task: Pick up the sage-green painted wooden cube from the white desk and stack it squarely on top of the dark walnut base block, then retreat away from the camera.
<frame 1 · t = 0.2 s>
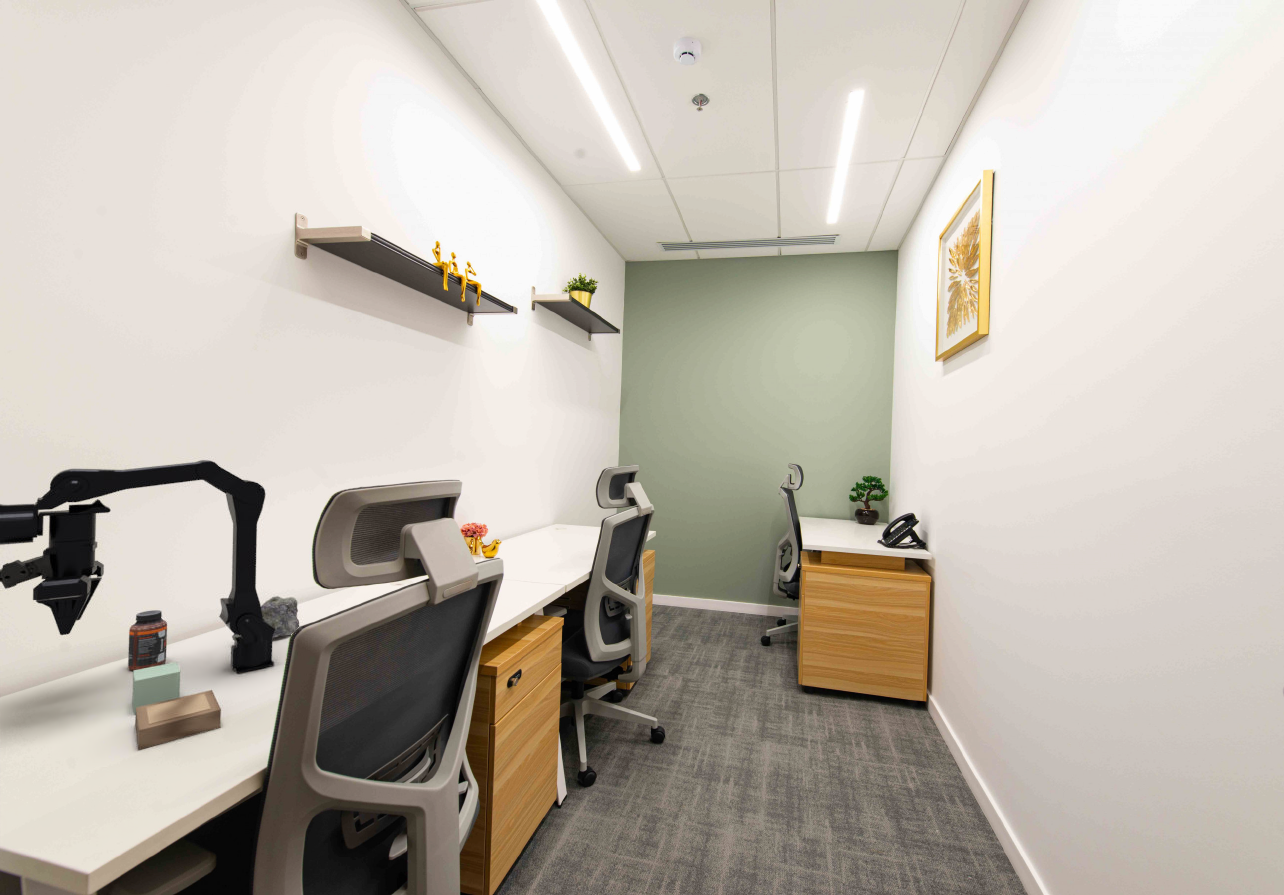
hand: (70, 627, 95), 14 cm above the table, fingers open, 9 cm apart
supplement bottle: (147, 667, 113), on the table
mineral rock: (267, 638, 132), on the table
walnut base: (177, 726, 90), on the table
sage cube: (155, 704, 97), on the table
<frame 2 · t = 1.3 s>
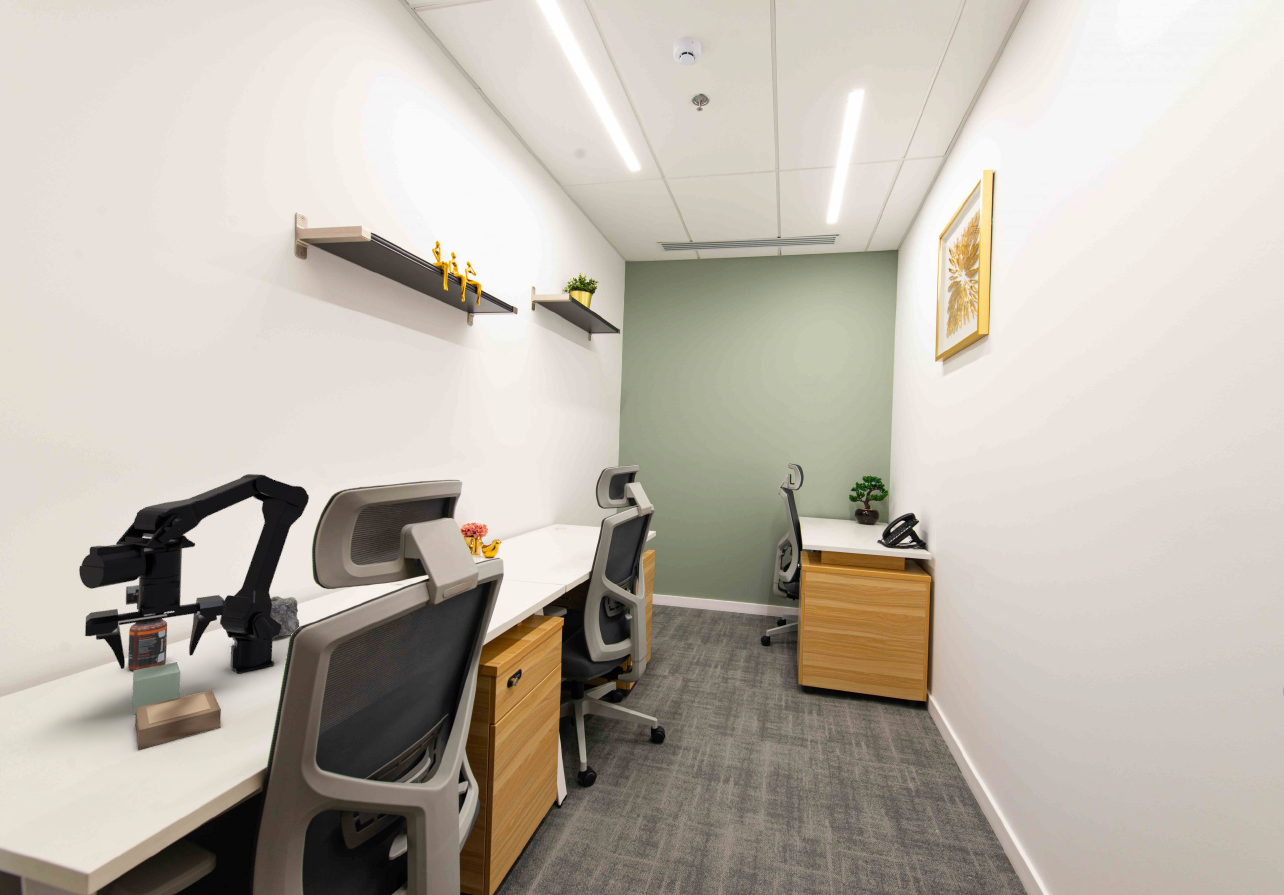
hand: (157, 661, 98), 8 cm above the table, fingers open, 9 cm apart
nothing on the table moved.
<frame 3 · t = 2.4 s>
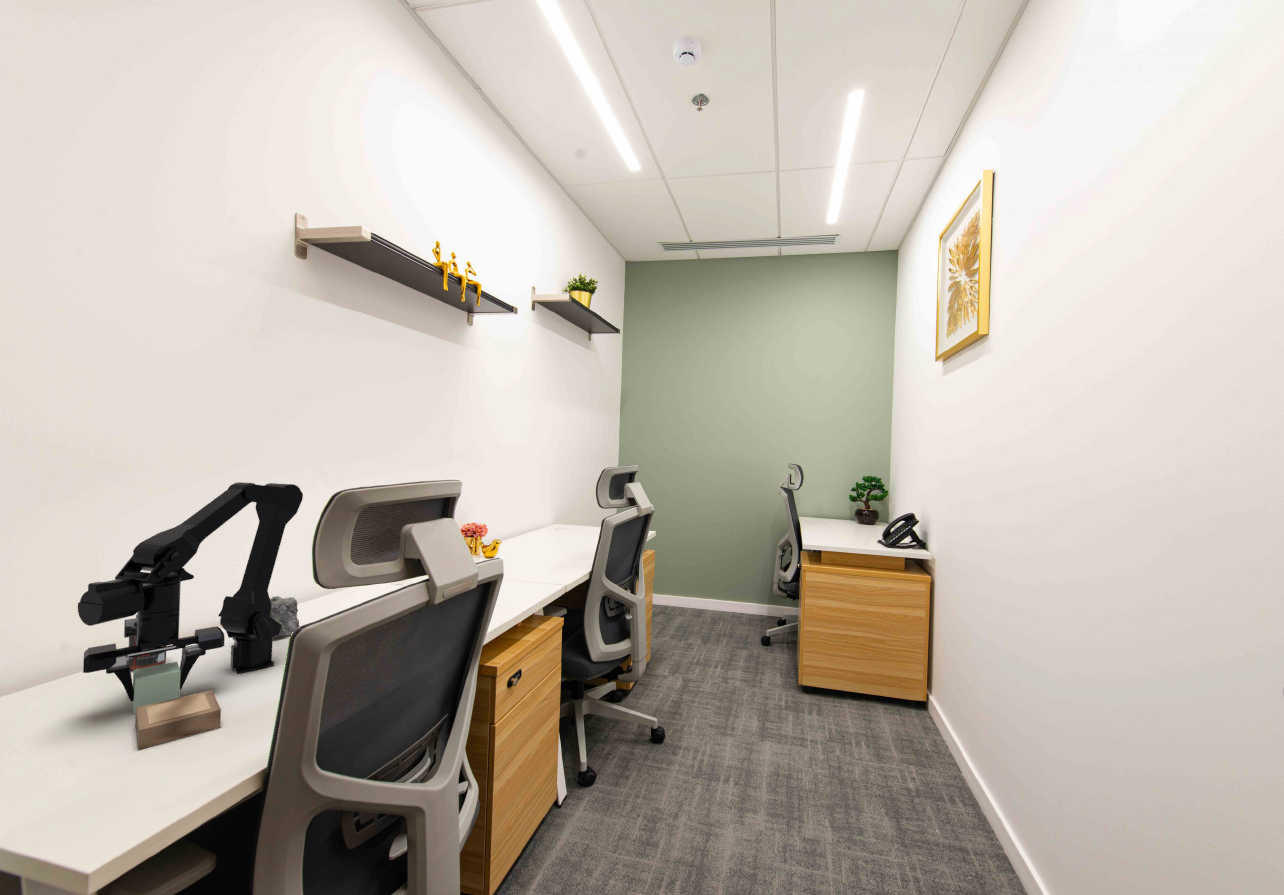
hand: (156, 694, 97), 2 cm above the table, fingers closed on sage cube, 6 cm apart
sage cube: (155, 703, 97), on the table, touching gripper
everything else where it was.
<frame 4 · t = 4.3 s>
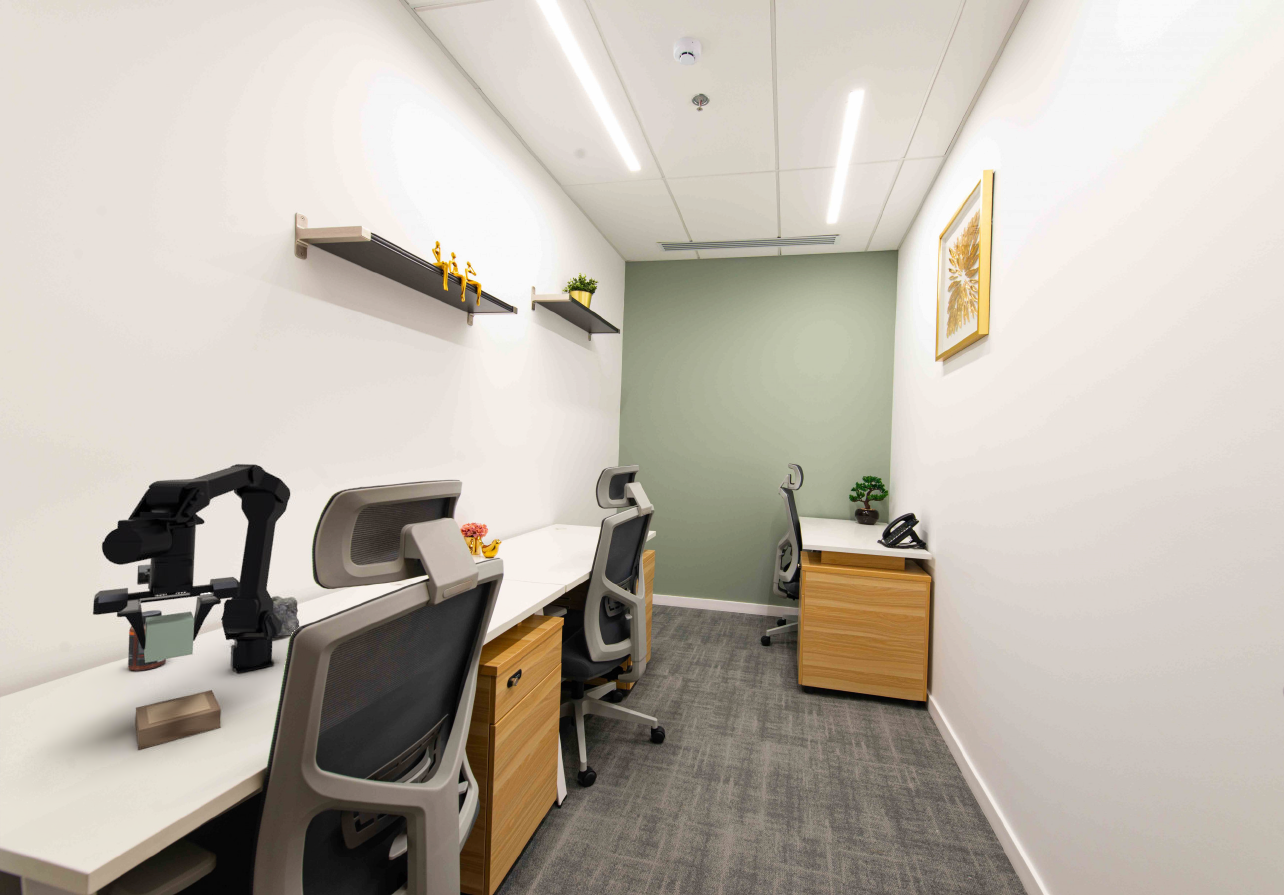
hand: (168, 644, 92), 13 cm above the table, fingers closed on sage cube, 6 cm apart
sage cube: (168, 653, 92), point 11 cm above the table, touching gripper
everything else where it was.
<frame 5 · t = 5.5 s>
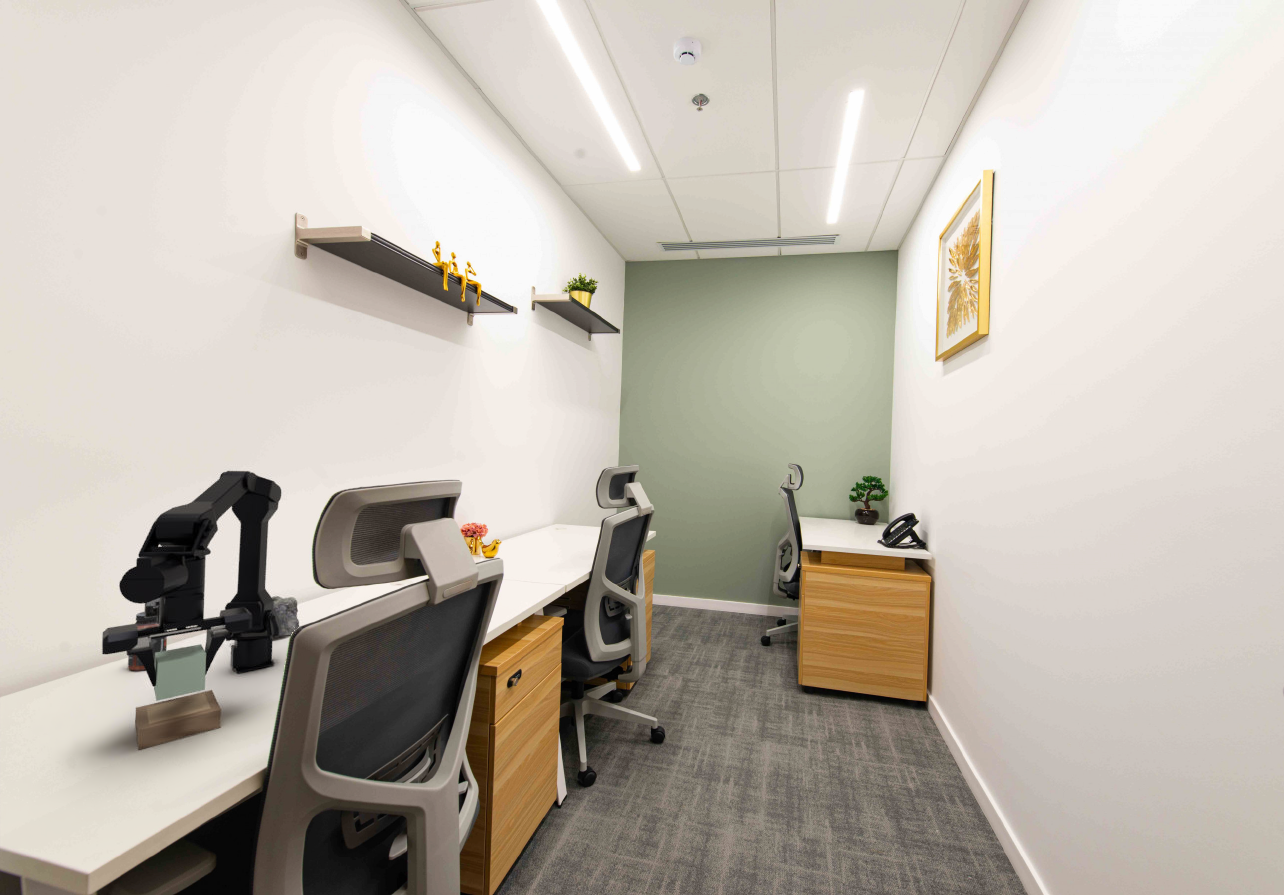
hand: (179, 679, 90), 8 cm above the table, fingers closed on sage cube, 6 cm apart
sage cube: (179, 689, 90), point 6 cm above the table, touching gripper
everything else where it was.
when the fingers open (6 cm above the table, at t = 6.3 s): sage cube drops 1 cm, resting on walnut base.
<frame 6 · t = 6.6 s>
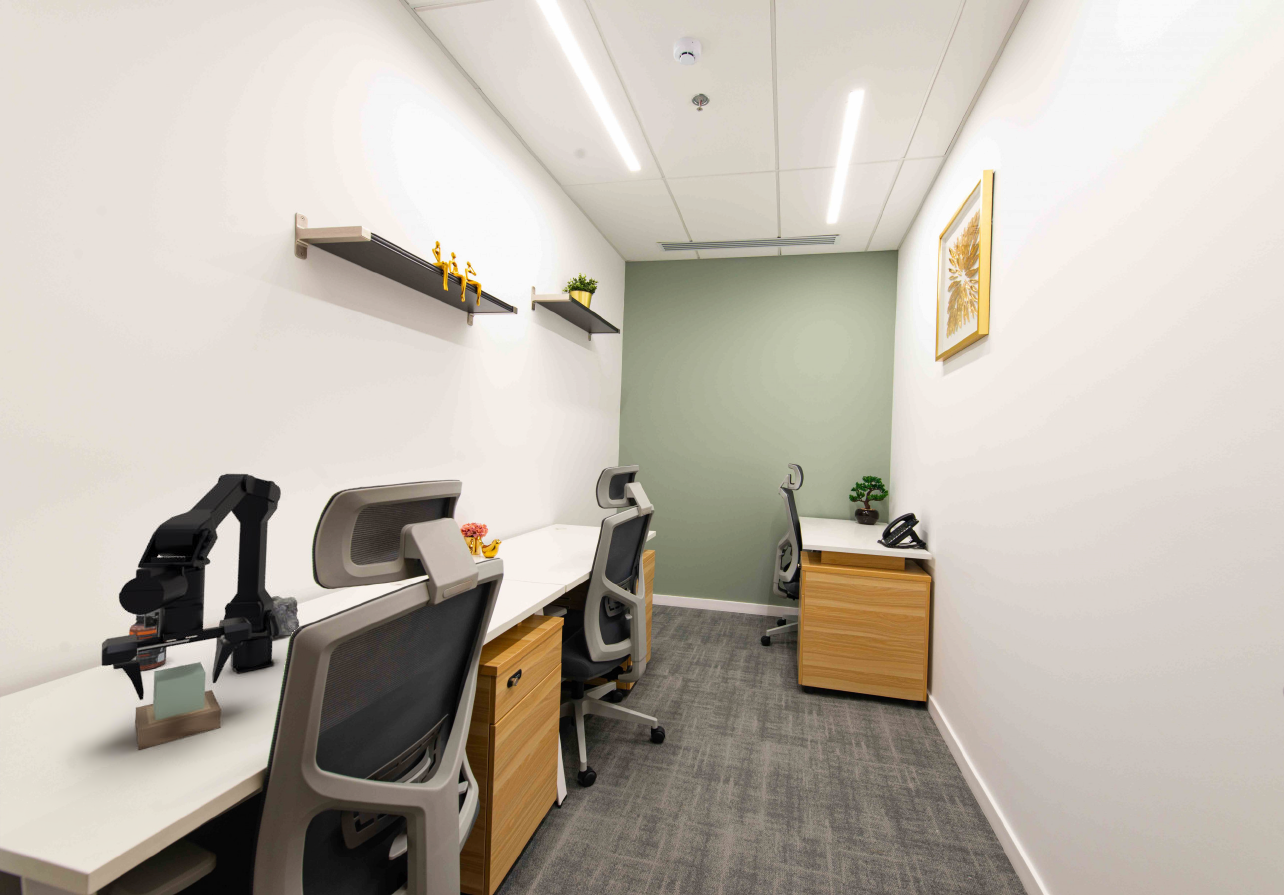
hand: (179, 690, 90), 6 cm above the table, fingers open, 9 cm apart
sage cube: (178, 707, 90), point 3 cm above the table, touching walnut base
everything else where it was.
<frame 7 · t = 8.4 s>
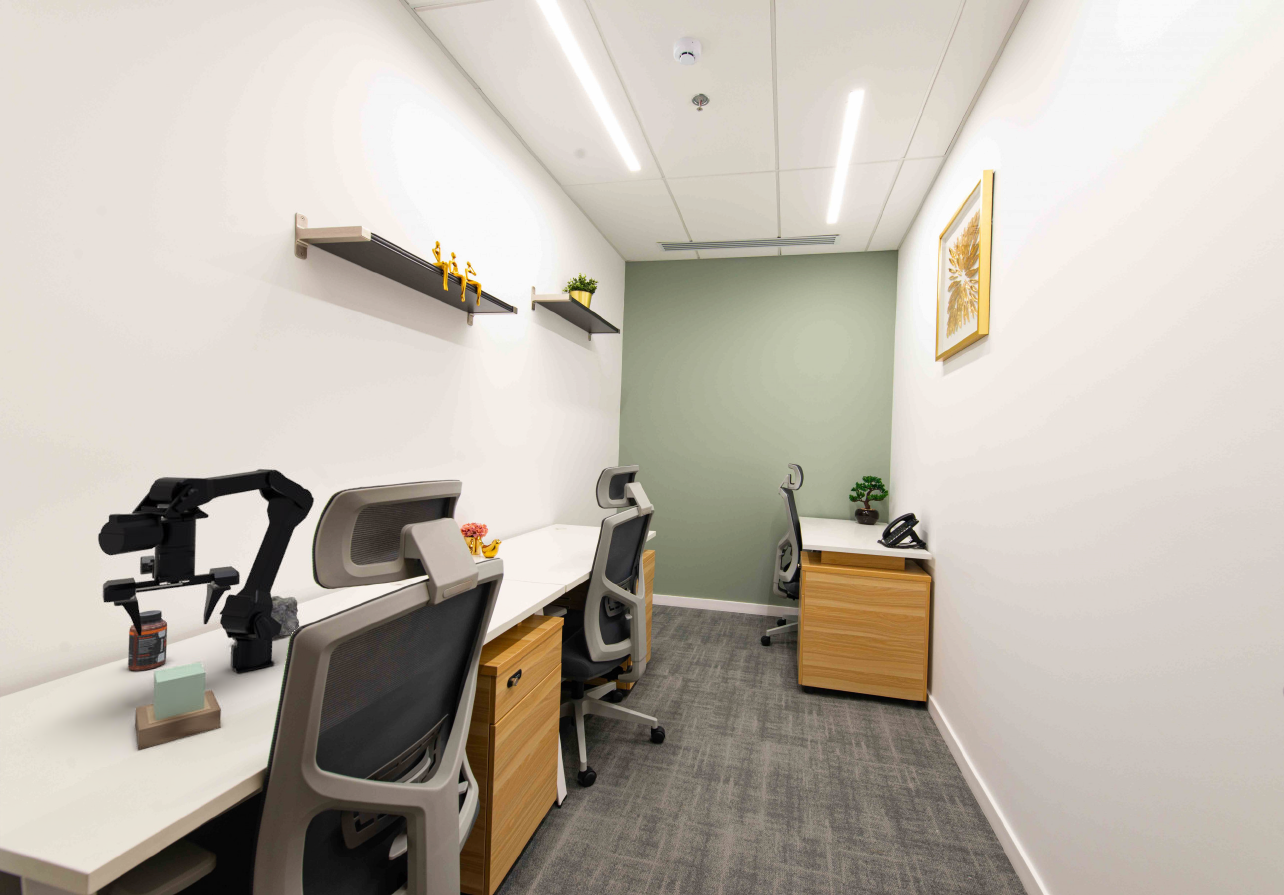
hand: (173, 629, 99), 13 cm above the table, fingers open, 9 cm apart
nothing on the table moved.
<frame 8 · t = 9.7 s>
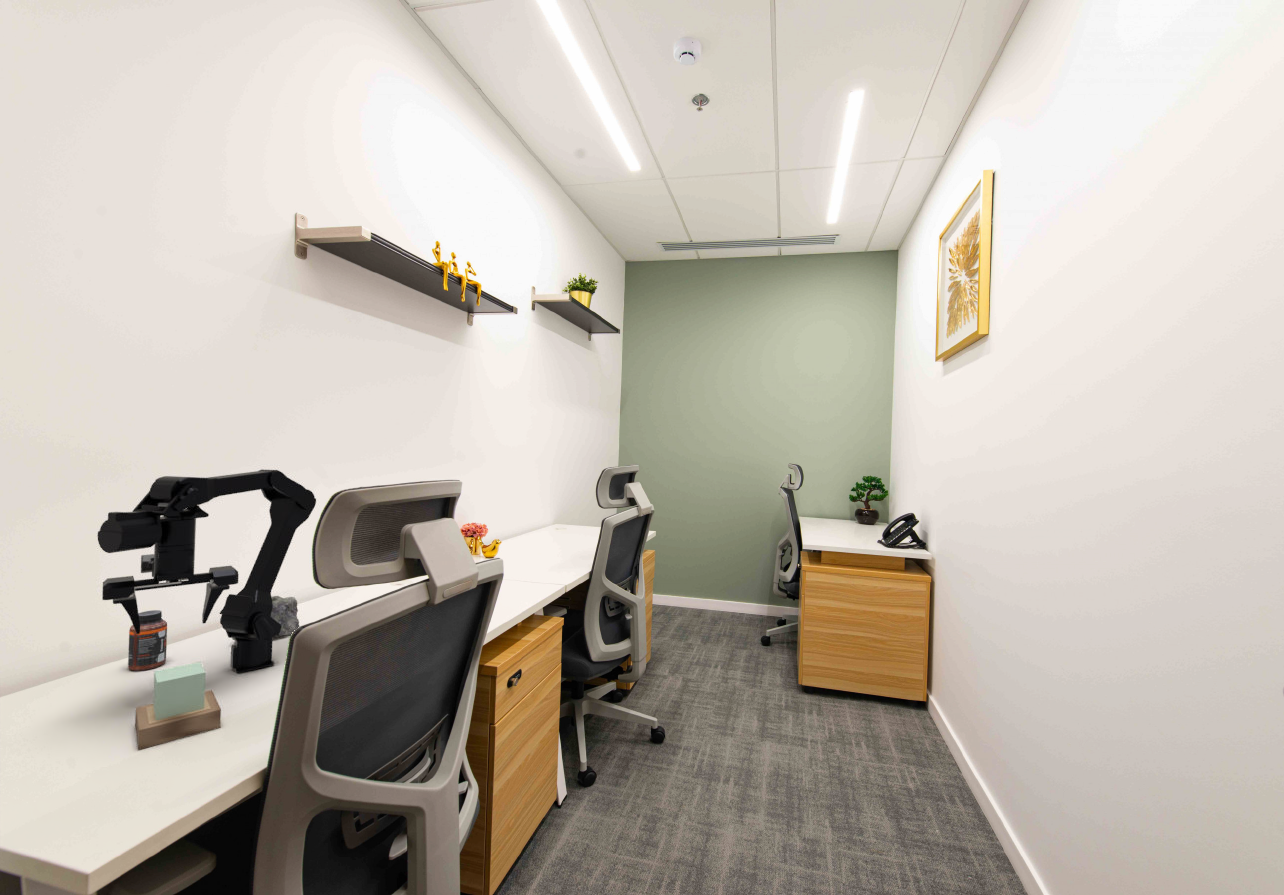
hand: (172, 627, 100), 13 cm above the table, fingers open, 9 cm apart
nothing on the table moved.
at the end: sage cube inside the target area on the walnut base (0.0 cm from its centre), point 3.1 cm above the walnut base's base; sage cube tilted 0°; the gripper is holding nothing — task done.
